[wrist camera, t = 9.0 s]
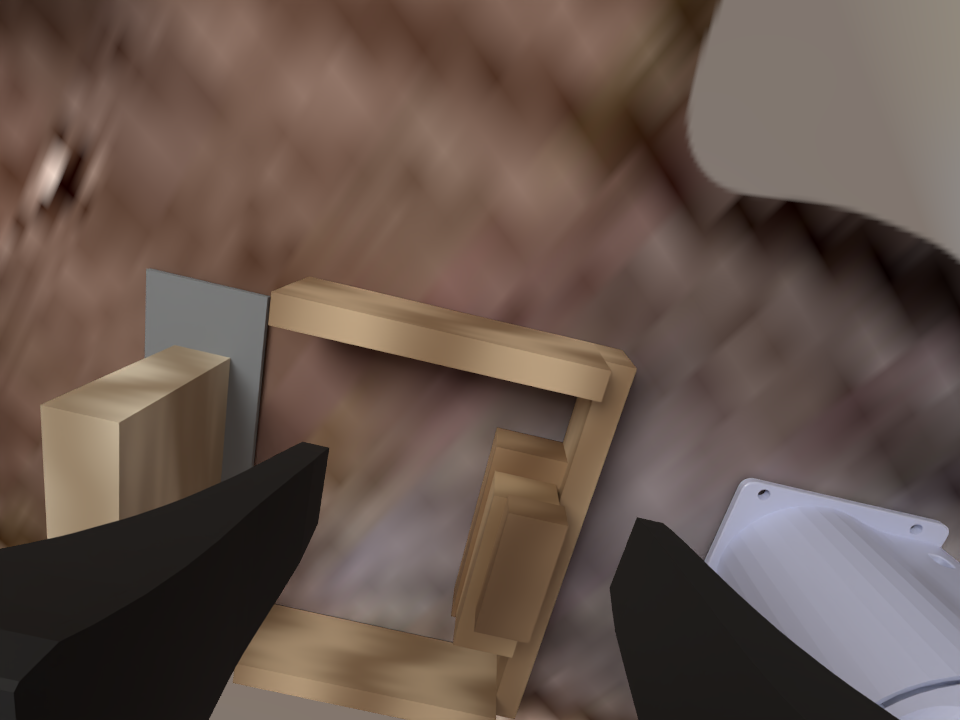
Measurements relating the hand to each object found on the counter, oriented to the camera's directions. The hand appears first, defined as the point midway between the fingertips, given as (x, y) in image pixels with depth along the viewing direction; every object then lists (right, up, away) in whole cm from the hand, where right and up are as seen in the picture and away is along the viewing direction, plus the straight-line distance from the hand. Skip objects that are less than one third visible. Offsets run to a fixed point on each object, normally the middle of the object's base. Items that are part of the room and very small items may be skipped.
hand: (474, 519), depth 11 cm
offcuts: (+1, -4, +12) cm, 13 cm away
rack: (-3, -3, +12) cm, 13 cm away
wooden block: (-13, -1, +11) cm, 17 cm away
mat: (-13, -1, +12) cm, 17 cm away
